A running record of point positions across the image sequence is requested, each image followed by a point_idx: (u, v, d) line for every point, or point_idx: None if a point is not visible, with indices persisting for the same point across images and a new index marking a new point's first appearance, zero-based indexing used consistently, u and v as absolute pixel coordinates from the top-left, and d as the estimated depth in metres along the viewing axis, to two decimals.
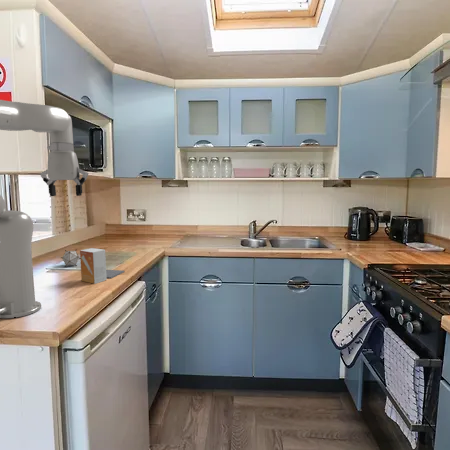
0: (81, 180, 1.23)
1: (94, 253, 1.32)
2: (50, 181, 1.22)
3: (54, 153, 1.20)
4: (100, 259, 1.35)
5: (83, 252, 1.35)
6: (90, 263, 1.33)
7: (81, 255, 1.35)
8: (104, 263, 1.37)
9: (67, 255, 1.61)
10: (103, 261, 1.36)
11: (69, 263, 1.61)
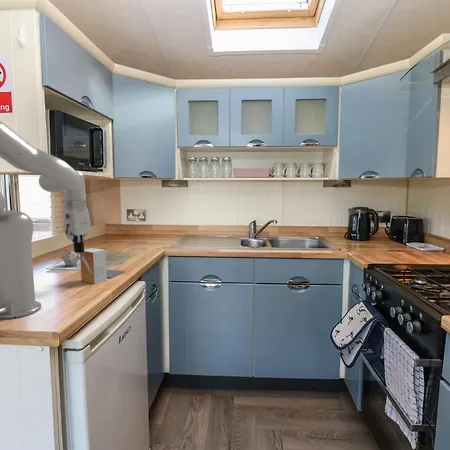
0: None
1: (94, 253, 1.32)
2: (79, 238, 1.26)
3: (78, 209, 1.24)
4: (100, 259, 1.35)
5: (83, 252, 1.35)
6: (90, 263, 1.33)
7: (81, 255, 1.35)
8: (104, 263, 1.37)
9: (67, 255, 1.61)
10: (103, 261, 1.36)
11: (69, 263, 1.61)
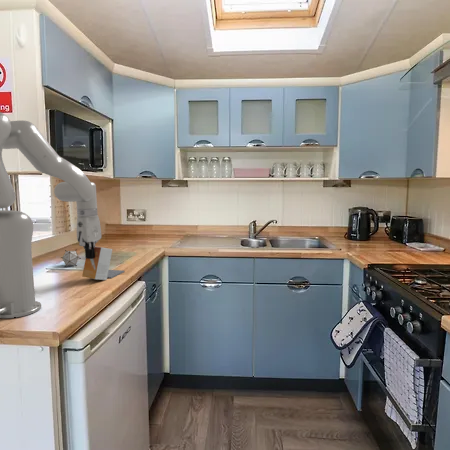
0: None
1: (102, 249, 1.36)
2: (90, 244, 1.33)
3: (90, 218, 1.31)
4: (105, 257, 1.37)
5: None
6: (95, 258, 1.35)
7: None
8: (108, 262, 1.39)
9: (67, 255, 1.61)
10: (108, 260, 1.39)
11: (69, 263, 1.61)
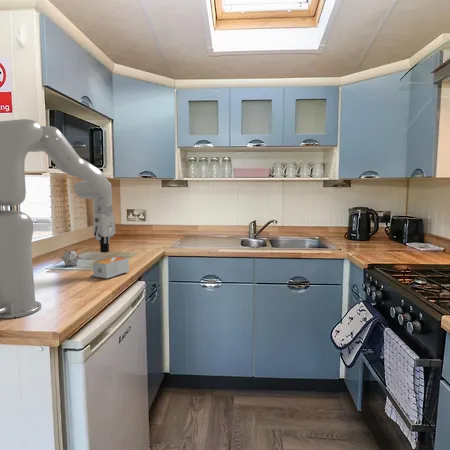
0: None
1: (127, 259, 1.49)
2: (105, 239, 1.43)
3: (106, 214, 1.41)
4: (122, 267, 1.46)
5: (118, 257, 1.51)
6: (117, 259, 1.46)
7: (114, 257, 1.50)
8: (119, 272, 1.45)
9: (67, 255, 1.61)
10: (121, 271, 1.46)
11: (69, 263, 1.61)
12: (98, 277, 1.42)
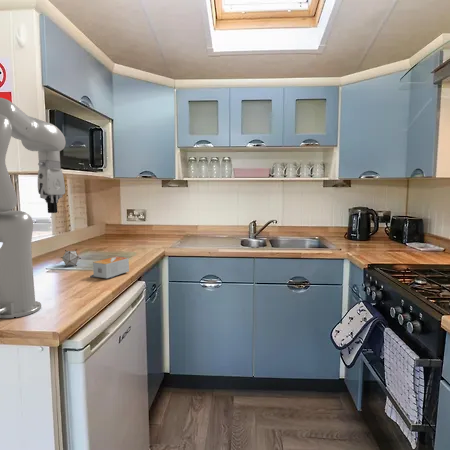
0: None
1: (127, 259, 1.49)
2: (52, 198, 1.31)
3: (52, 170, 1.29)
4: (122, 267, 1.46)
5: (118, 257, 1.51)
6: (117, 259, 1.46)
7: (114, 257, 1.50)
8: (119, 272, 1.45)
9: (67, 255, 1.61)
10: (121, 271, 1.46)
11: (69, 263, 1.61)
12: (98, 277, 1.42)
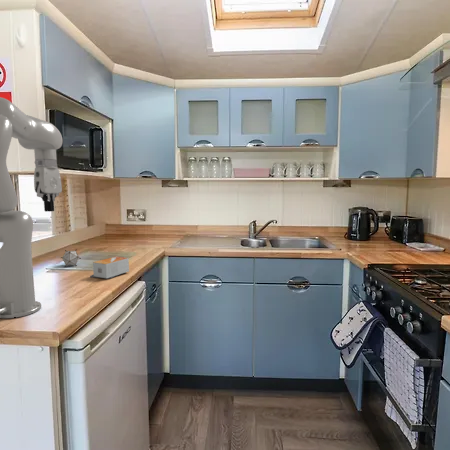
0: None
1: (127, 259, 1.49)
2: (49, 196, 1.31)
3: (48, 168, 1.29)
4: (122, 267, 1.46)
5: (118, 257, 1.51)
6: (117, 259, 1.46)
7: (114, 257, 1.50)
8: (119, 272, 1.45)
9: (67, 255, 1.61)
10: (121, 271, 1.46)
11: (69, 263, 1.61)
12: (98, 277, 1.42)
